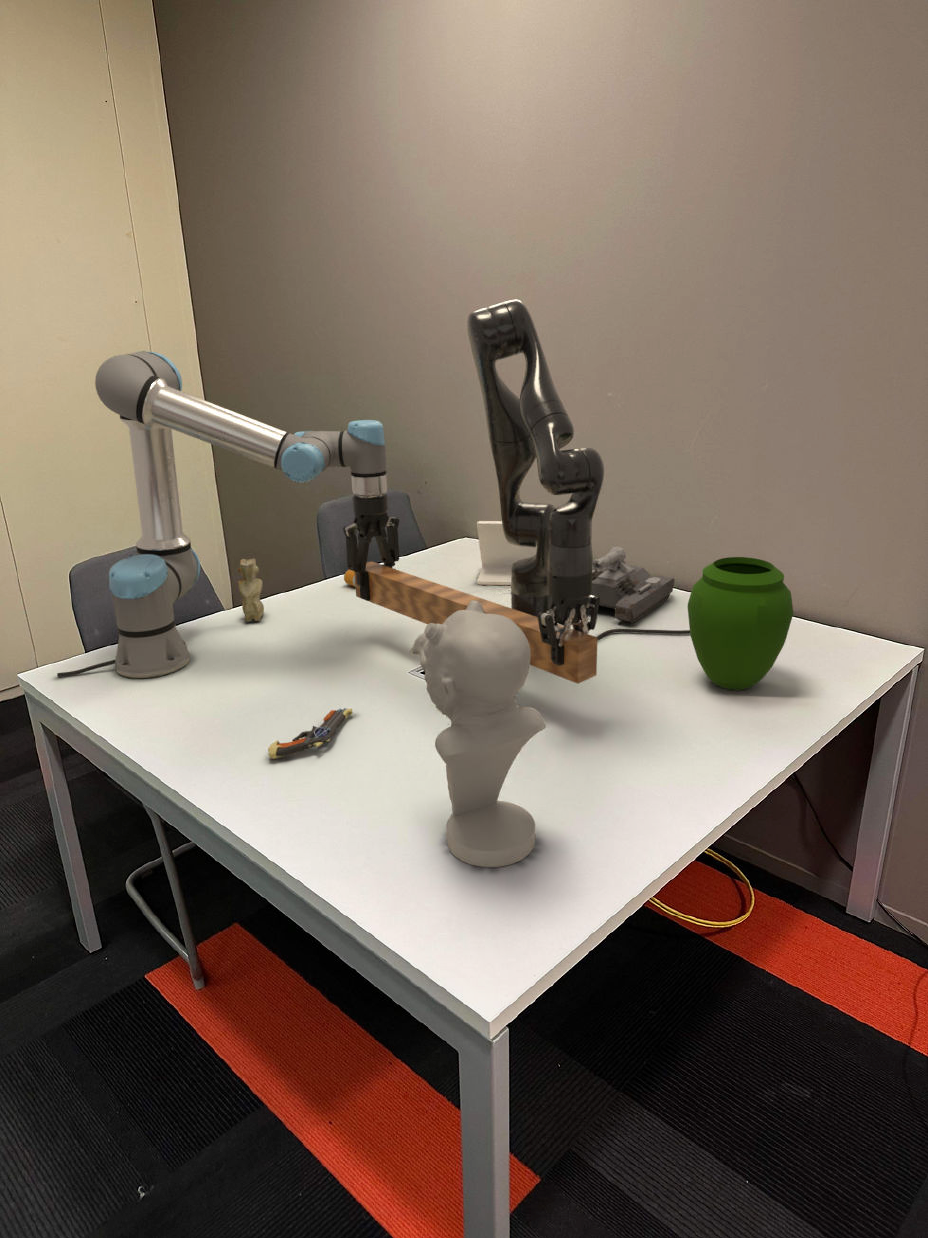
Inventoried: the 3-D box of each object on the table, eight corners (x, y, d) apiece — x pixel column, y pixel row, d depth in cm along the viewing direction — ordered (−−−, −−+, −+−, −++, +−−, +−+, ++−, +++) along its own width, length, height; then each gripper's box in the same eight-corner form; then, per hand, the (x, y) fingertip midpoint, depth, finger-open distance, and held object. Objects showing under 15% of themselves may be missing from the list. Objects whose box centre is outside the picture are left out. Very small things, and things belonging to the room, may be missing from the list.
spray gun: (366, 572, 247) (411, 580, 241) (334, 586, 233) (382, 594, 227) (366, 558, 246) (412, 565, 240) (334, 571, 232) (382, 579, 226)
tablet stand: (569, 585, 229) (570, 524, 223) (476, 584, 232) (475, 523, 226) (570, 566, 246) (571, 508, 240) (484, 564, 249) (483, 507, 243)
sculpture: (268, 613, 216) (261, 555, 210) (263, 623, 209) (256, 564, 204) (245, 614, 215) (238, 556, 210) (239, 624, 209) (232, 565, 203)
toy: (603, 584, 229) (605, 530, 224) (673, 597, 218) (677, 540, 213) (555, 612, 210) (556, 553, 205) (630, 627, 199) (633, 566, 194)
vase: (795, 674, 173) (808, 558, 164) (770, 712, 157) (784, 587, 149) (700, 656, 183) (708, 546, 174) (668, 690, 167) (675, 571, 159)
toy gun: (263, 749, 145) (318, 746, 143) (303, 706, 163) (352, 703, 161) (266, 763, 146) (321, 761, 144) (306, 719, 164) (355, 716, 161)
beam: (596, 675, 150) (597, 637, 148) (578, 683, 147) (578, 645, 145) (373, 591, 197) (371, 561, 194) (356, 596, 194) (353, 566, 191)
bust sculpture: (481, 772, 140) (476, 569, 128) (565, 848, 120) (569, 617, 108) (392, 800, 134) (378, 588, 121) (465, 886, 114) (457, 642, 101)
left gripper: (393, 485, 192) (397, 583, 200) (324, 498, 181) (332, 601, 189) (413, 490, 187) (417, 590, 195) (344, 503, 175) (351, 609, 184)
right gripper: (580, 553, 152) (579, 641, 158) (524, 572, 143) (525, 665, 149) (614, 562, 146) (611, 653, 153) (558, 582, 138) (557, 678, 144)
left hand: (375, 596), depth 192 cm, fingers closed on beam, 5 cm apart
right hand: (568, 658), depth 151 cm, fingers closed on beam, 5 cm apart
